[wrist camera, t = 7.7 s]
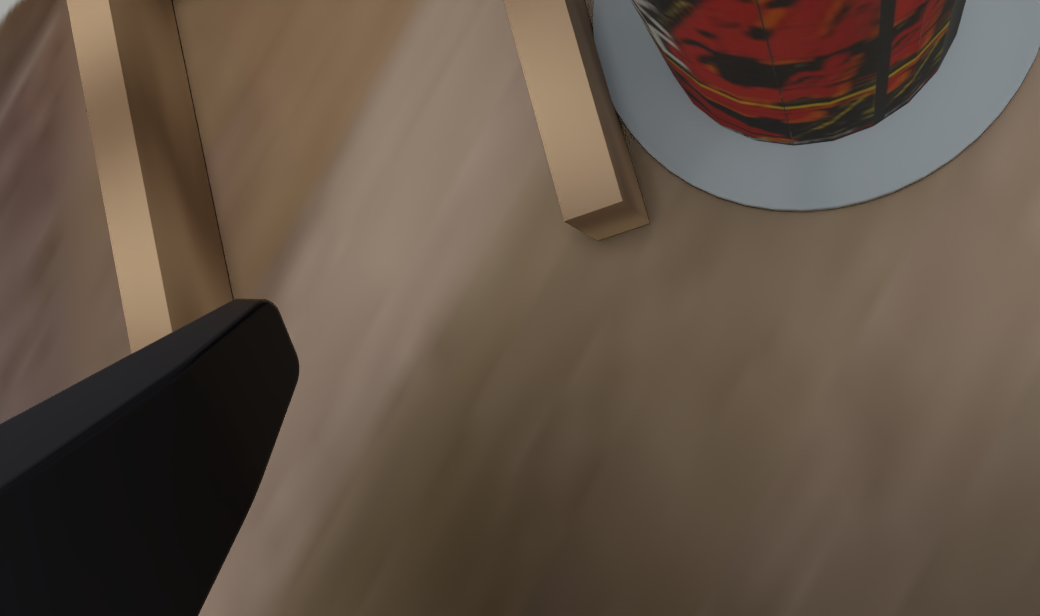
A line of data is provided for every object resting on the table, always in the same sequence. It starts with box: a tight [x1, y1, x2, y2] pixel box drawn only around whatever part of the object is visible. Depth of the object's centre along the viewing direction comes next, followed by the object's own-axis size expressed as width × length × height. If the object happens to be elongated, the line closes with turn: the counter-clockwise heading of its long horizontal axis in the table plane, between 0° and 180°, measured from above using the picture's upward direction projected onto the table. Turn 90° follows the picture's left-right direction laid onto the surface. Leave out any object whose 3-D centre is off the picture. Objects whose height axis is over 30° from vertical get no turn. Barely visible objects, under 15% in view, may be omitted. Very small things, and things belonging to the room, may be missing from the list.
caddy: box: [67, 0, 649, 353], centre depth 22 cm, size 11×12×2 cm
